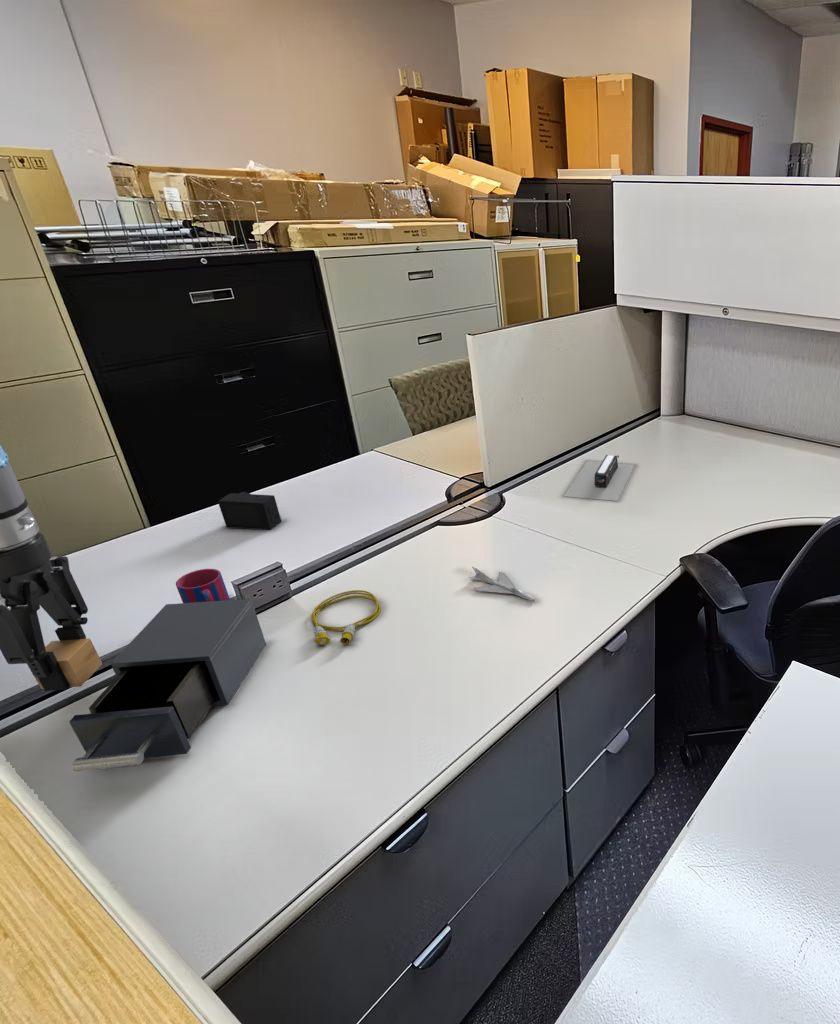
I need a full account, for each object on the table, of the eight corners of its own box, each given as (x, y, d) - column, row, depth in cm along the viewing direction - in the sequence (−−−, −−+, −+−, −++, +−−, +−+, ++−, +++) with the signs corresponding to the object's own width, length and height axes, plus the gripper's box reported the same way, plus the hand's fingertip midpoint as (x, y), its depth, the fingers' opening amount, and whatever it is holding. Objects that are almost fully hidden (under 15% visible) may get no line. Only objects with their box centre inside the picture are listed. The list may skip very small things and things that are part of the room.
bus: (634, 465, 186) (634, 452, 184) (617, 500, 164) (617, 486, 162) (587, 461, 187) (587, 448, 185) (564, 496, 165) (563, 481, 163)
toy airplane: (521, 612, 119) (521, 602, 118) (445, 578, 128) (444, 569, 127) (548, 593, 125) (547, 583, 124) (473, 562, 134) (472, 553, 133)
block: (41, 689, 90) (26, 663, 88) (64, 666, 94) (51, 640, 92) (81, 686, 91) (67, 660, 89) (102, 663, 95) (90, 638, 93)
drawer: (167, 784, 81) (146, 742, 77) (66, 795, 79) (40, 752, 75) (231, 686, 97) (216, 647, 94) (149, 693, 95) (130, 653, 91)
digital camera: (285, 519, 147) (277, 492, 144) (271, 530, 142) (263, 502, 139) (242, 517, 147) (233, 490, 144) (226, 527, 142) (217, 500, 139)
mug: (228, 594, 120) (218, 564, 117) (236, 619, 113) (225, 589, 110) (186, 606, 116) (174, 575, 113) (190, 633, 109) (178, 601, 106)
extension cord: (281, 641, 108) (278, 632, 107) (339, 591, 122) (337, 583, 121) (345, 651, 107) (342, 642, 106) (396, 599, 121) (395, 591, 120)
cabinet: (227, 704, 95) (208, 656, 90) (134, 713, 93) (110, 663, 88) (266, 644, 108) (251, 598, 103) (185, 650, 105) (166, 604, 101)
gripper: (-18, 576, 75) (58, 717, 85) (81, 509, 90) (135, 635, 101) (-94, 579, 73) (-7, 722, 84) (20, 510, 89) (81, 638, 100)
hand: (70, 674), depth 92 cm, fingers closed on block, 5 cm apart
